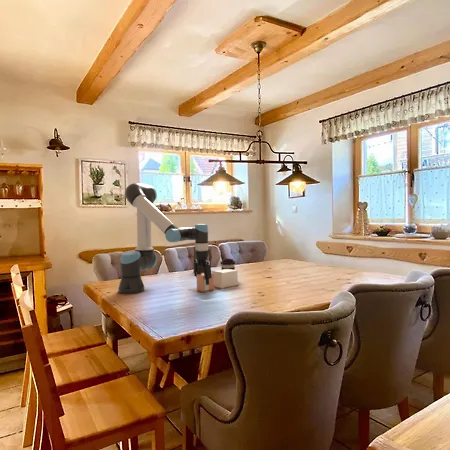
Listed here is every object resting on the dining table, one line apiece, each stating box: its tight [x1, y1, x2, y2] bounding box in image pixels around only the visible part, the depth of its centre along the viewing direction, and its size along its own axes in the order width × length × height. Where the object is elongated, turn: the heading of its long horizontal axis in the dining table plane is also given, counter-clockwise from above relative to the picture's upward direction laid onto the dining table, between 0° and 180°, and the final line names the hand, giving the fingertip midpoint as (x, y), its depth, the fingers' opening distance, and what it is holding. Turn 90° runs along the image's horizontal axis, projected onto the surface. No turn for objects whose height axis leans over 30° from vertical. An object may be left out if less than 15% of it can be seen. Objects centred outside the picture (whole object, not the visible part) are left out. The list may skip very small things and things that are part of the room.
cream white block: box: [211, 269, 239, 288], centre depth 221 cm, size 13×9×9 cm
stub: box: [196, 272, 214, 291], centre depth 211 cm, size 8×6×9 cm
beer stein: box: [193, 246, 213, 274], centre depth 276 cm, size 15×11×20 cm
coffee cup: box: [220, 258, 236, 270], centre depth 236 cm, size 10×10×15 cm
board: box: [187, 284, 241, 294], centre depth 215 cm, size 30×14×1 cm, turn 131°
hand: (203, 289), depth 210 cm, fingers closed on stub, 6 cm apart
